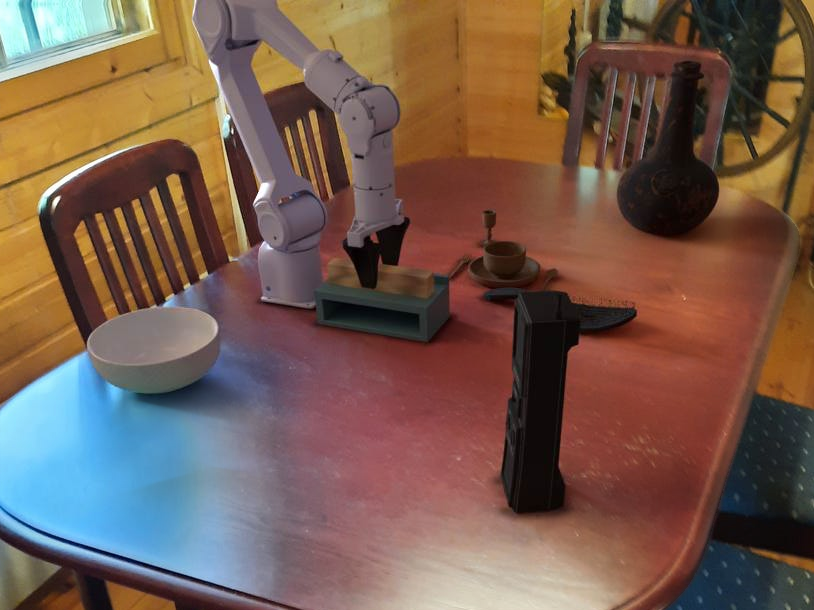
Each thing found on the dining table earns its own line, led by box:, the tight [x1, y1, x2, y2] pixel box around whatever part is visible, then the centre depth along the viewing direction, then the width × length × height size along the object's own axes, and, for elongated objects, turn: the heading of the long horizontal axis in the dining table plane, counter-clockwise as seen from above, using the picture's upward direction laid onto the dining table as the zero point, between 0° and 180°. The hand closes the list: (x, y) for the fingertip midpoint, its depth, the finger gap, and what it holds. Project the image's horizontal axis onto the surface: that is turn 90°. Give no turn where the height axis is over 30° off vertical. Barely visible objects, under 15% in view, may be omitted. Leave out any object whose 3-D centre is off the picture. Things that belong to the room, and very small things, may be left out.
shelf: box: [314, 272, 451, 343], centre depth 128 cm, size 18×9×7 cm, turn 68°
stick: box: [326, 257, 435, 299], centre depth 125 cm, size 16×3×3 cm, turn 68°
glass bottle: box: [616, 60, 720, 236], centre depth 150 cm, size 18×18×28 cm
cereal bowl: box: [86, 306, 222, 394], centre depth 115 cm, size 17×17×7 cm
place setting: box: [449, 209, 559, 291], centre depth 143 cm, size 18×20×6 cm
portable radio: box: [500, 289, 581, 514], centre depth 88 cm, size 8×6×25 cm
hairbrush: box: [483, 287, 638, 334], centre depth 129 cm, size 8×4×25 cm
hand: (379, 277), depth 125 cm, fingers open, 7 cm apart
